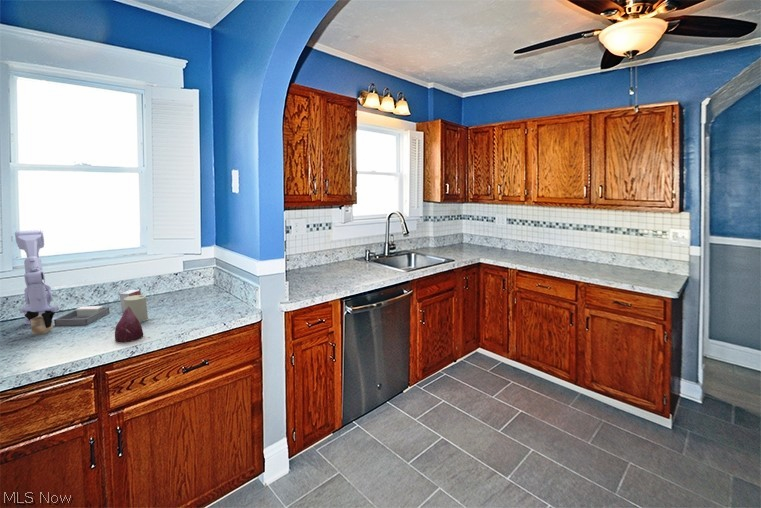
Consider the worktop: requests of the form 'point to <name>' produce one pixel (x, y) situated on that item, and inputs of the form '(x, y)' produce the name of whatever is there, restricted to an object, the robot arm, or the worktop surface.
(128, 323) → the vegetable
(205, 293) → the worktop surface
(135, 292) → the small box
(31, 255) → the robot arm
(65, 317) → the tray
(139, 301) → the can
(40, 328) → the wood block
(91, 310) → the white box
